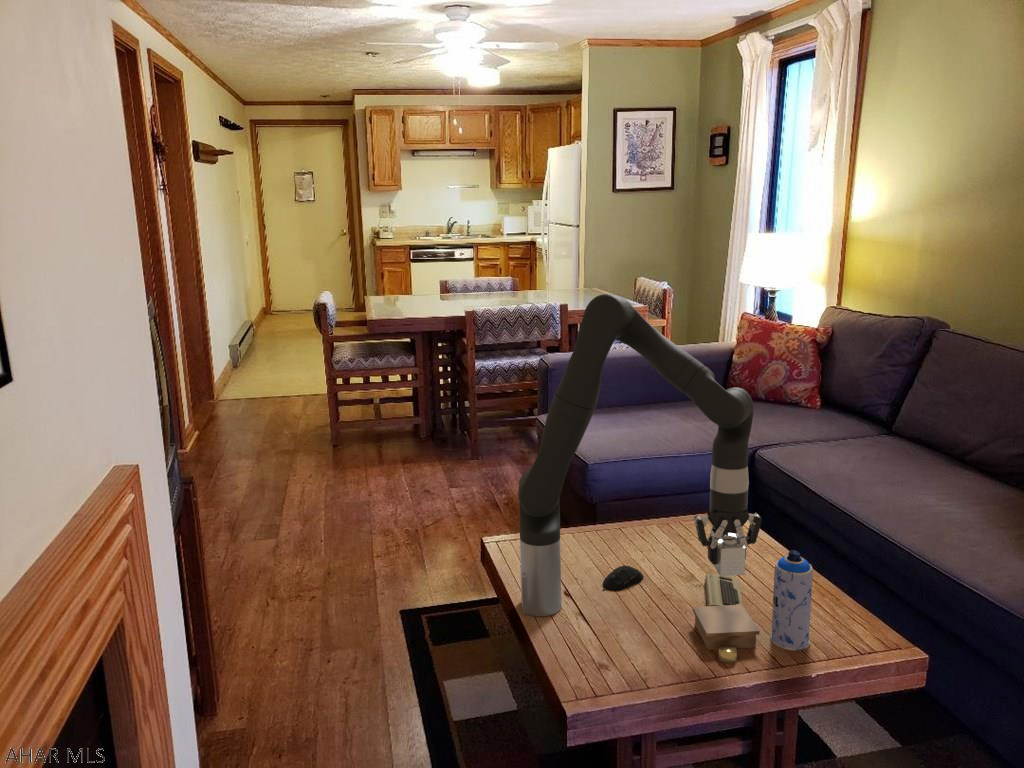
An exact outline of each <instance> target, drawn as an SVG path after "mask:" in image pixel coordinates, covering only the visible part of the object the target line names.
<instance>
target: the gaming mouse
mask: <svg viewBox="0 0 1024 768" xmlns="http://www.w3.org/2000/svg"><path fill="white" fill-rule="evenodd" d="M643 580H644V574H643V572H641V570H639V569H638V568H634V567H632V566H630V565H621V566H618V567H616V568H615V569H613V570H612V571H611V572H610V573H608V575H607V576H606V577H605V578H604V580H603V581H602V586H603V588H604V589H602V590H601V592H606V591H613V592H617V591H623V590H625V589H628V588H630V587H632V586H635V585H637V584H640V583H641V582H642V581H643Z"/></svg>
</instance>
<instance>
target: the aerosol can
mask: <svg viewBox="0 0 1024 768" xmlns="http://www.w3.org/2000/svg"><path fill="white" fill-rule="evenodd" d="M813 571H814V570H813V566H812V564H810V563H809V561H808V560H807V559H806V558H803V557H802V556H801V552H799V551H798V550H795V549H791V550H790V549H789V551H788V554H787V555H785V556H782V557H781V558H780V559H778V560H777V561H776V562H775V565H774V573H773V574H774V576H773V594H772V595H773V596H772V597H773V598H772V615H771V616H772V617H771V633H770V641H771V642H772V643H773V644H774V645H775V646H777V647H778V648H781V649H784V650H789V651H802V650H805V649H808V648H809V646H810V644H811V643H810V642H811V641H810V625H811V611H812V610H811V609H812V608H811V607H812V592H813V574H814V572H813Z"/></svg>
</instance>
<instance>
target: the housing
mask: <svg viewBox="0 0 1024 768" xmlns="http://www.w3.org/2000/svg"><path fill="white" fill-rule="evenodd" d="M716 548H717V559H716V565H713V567H714V569H715V570H716V571H717V574H719V575H720V576H730V577H733V576H745V574H746V573H745V571H746V559H745V553H746V554H747V547H745V546H744V545H743V544H742V542H740V540H739V538H737V537H736V534H735V533H726V534H722V536H721V539H720V540H719V541H718V543H717V545H716Z"/></svg>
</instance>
